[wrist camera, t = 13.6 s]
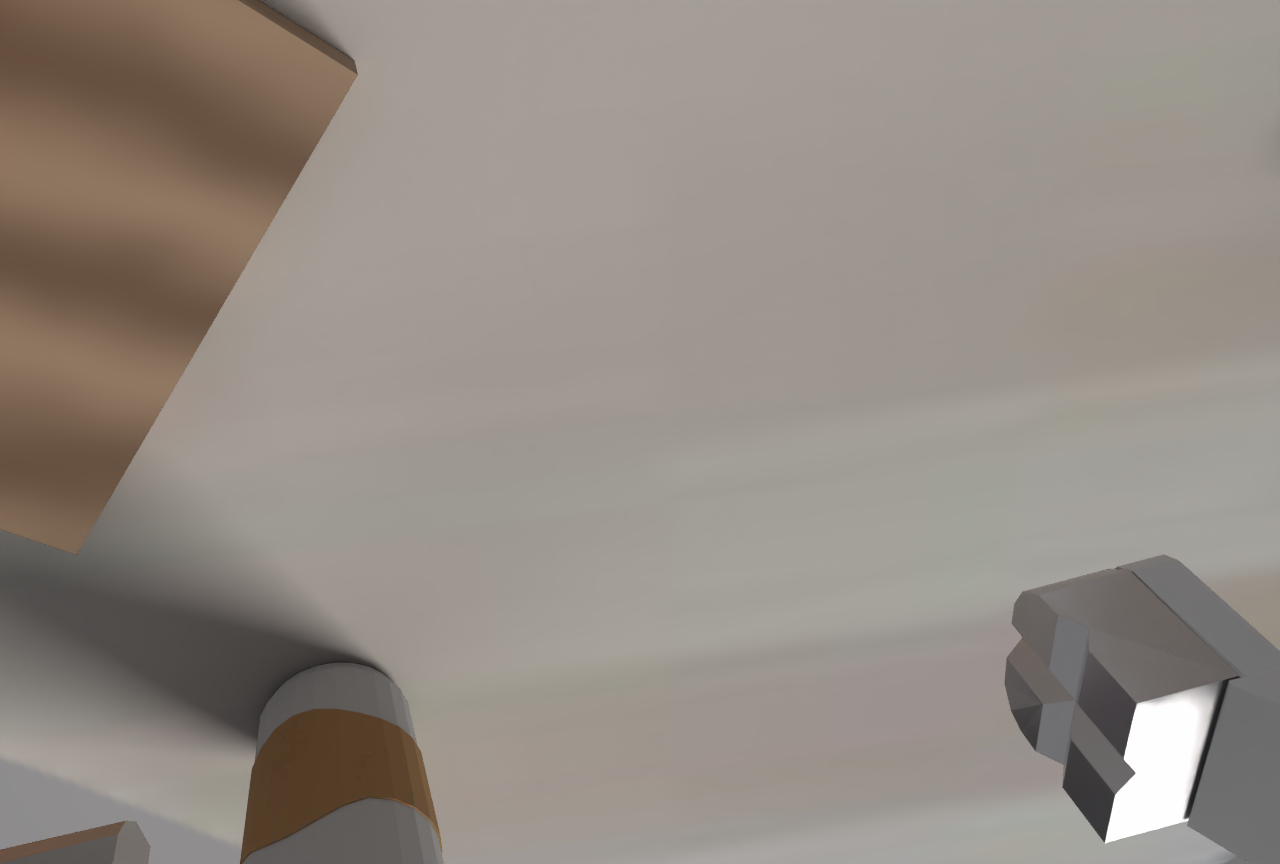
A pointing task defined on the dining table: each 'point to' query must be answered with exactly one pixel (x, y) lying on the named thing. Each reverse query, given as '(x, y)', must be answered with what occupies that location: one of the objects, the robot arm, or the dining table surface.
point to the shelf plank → (131, 219)
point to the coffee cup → (339, 775)
